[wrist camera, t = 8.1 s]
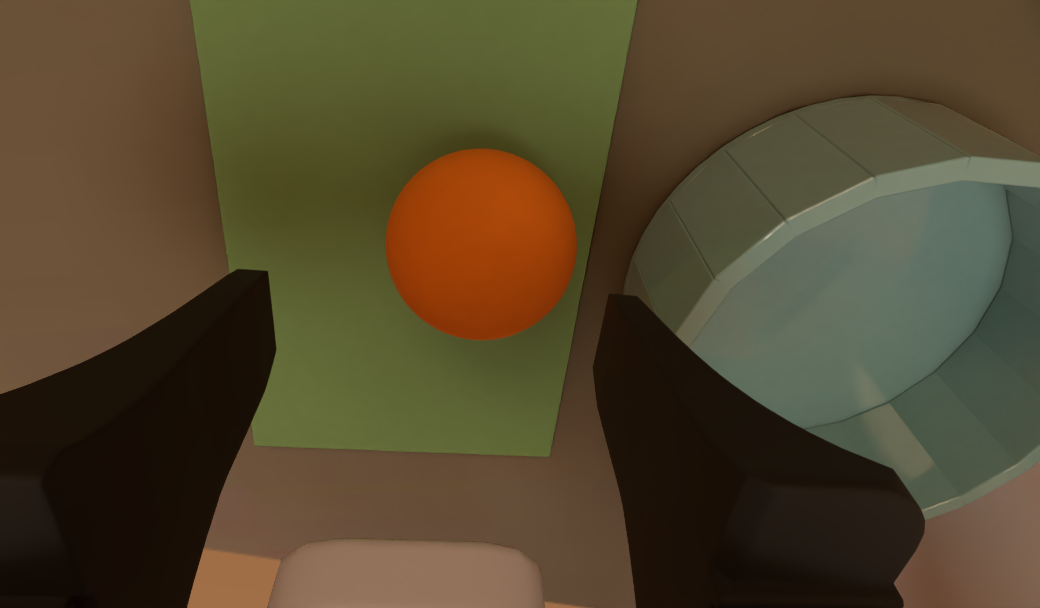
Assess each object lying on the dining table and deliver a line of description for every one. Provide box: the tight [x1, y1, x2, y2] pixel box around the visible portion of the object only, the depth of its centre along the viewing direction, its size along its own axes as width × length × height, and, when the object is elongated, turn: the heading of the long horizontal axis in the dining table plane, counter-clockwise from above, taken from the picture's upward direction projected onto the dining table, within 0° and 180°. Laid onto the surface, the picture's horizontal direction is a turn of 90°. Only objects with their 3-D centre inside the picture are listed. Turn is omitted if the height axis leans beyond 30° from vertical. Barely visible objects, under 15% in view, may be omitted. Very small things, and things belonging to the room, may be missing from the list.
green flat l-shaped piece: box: [190, 0, 638, 457], centre depth 19 cm, size 22×11×1 cm, turn 174°
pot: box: [623, 95, 1040, 520], centre depth 20 cm, size 13×13×5 cm
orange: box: [385, 149, 577, 340], centre depth 18 cm, size 5×5×5 cm
